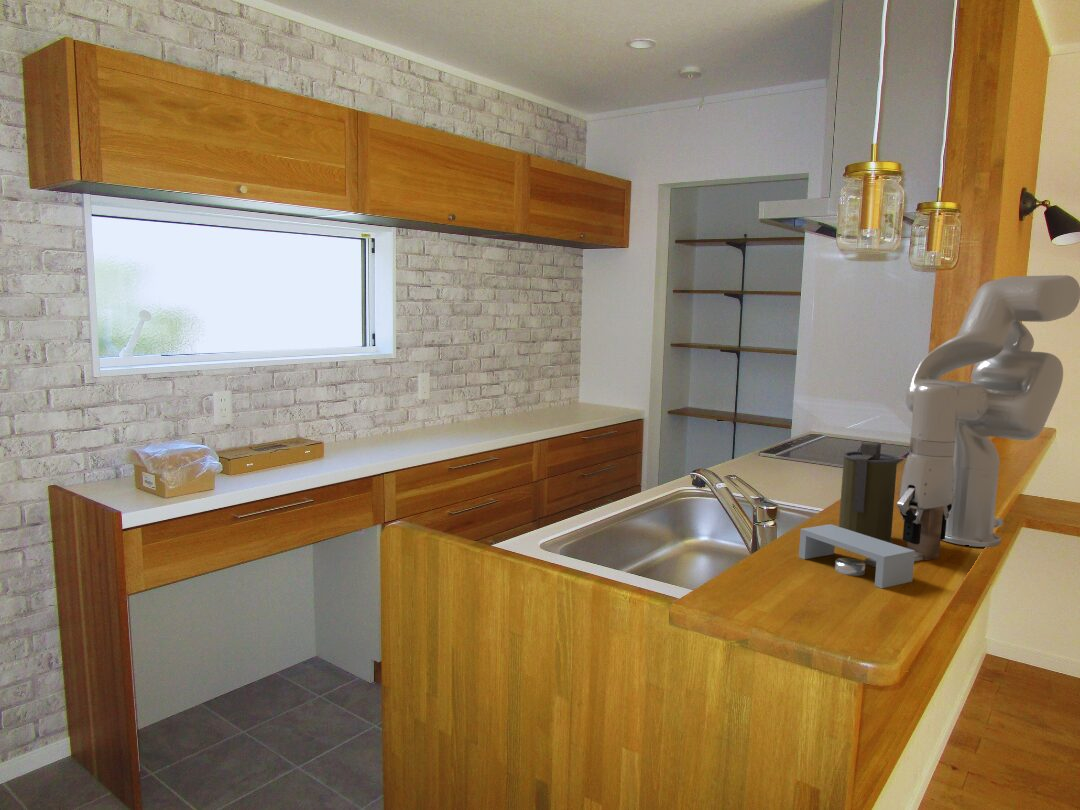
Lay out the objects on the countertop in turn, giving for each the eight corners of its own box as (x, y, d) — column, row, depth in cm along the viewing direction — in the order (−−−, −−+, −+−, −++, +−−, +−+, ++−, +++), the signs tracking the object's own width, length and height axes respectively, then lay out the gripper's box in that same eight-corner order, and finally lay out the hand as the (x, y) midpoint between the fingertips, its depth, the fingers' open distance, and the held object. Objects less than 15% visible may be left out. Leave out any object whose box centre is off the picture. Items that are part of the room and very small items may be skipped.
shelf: (828, 551, 146) (830, 524, 145) (912, 581, 130) (914, 550, 129) (798, 557, 142) (800, 528, 141) (881, 588, 126) (884, 556, 126)
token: (847, 566, 138) (848, 556, 138) (870, 574, 134) (871, 564, 134) (828, 569, 136) (829, 560, 136) (851, 578, 132) (852, 568, 131)
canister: (846, 528, 163) (853, 437, 160) (897, 538, 156) (905, 443, 154) (829, 539, 154) (836, 443, 152) (883, 550, 148) (891, 450, 145)
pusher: (919, 551, 147) (923, 501, 146) (938, 557, 144) (943, 506, 143) (862, 562, 140) (866, 510, 138) (881, 569, 136) (885, 515, 135)
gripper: (941, 442, 150) (934, 529, 152) (884, 448, 141) (876, 540, 143) (978, 449, 143) (970, 540, 145) (920, 455, 135) (912, 551, 137)
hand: (923, 539), depth 144 cm, fingers open, 6 cm apart
